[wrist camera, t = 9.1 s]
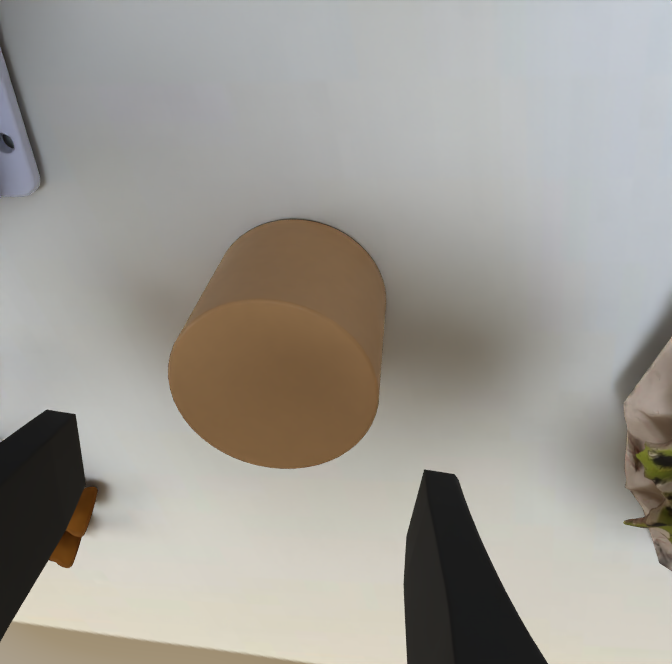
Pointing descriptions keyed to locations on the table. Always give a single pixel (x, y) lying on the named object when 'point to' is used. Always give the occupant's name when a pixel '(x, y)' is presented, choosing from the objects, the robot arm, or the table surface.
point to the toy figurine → (75, 529)
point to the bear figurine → (652, 452)
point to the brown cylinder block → (284, 347)
